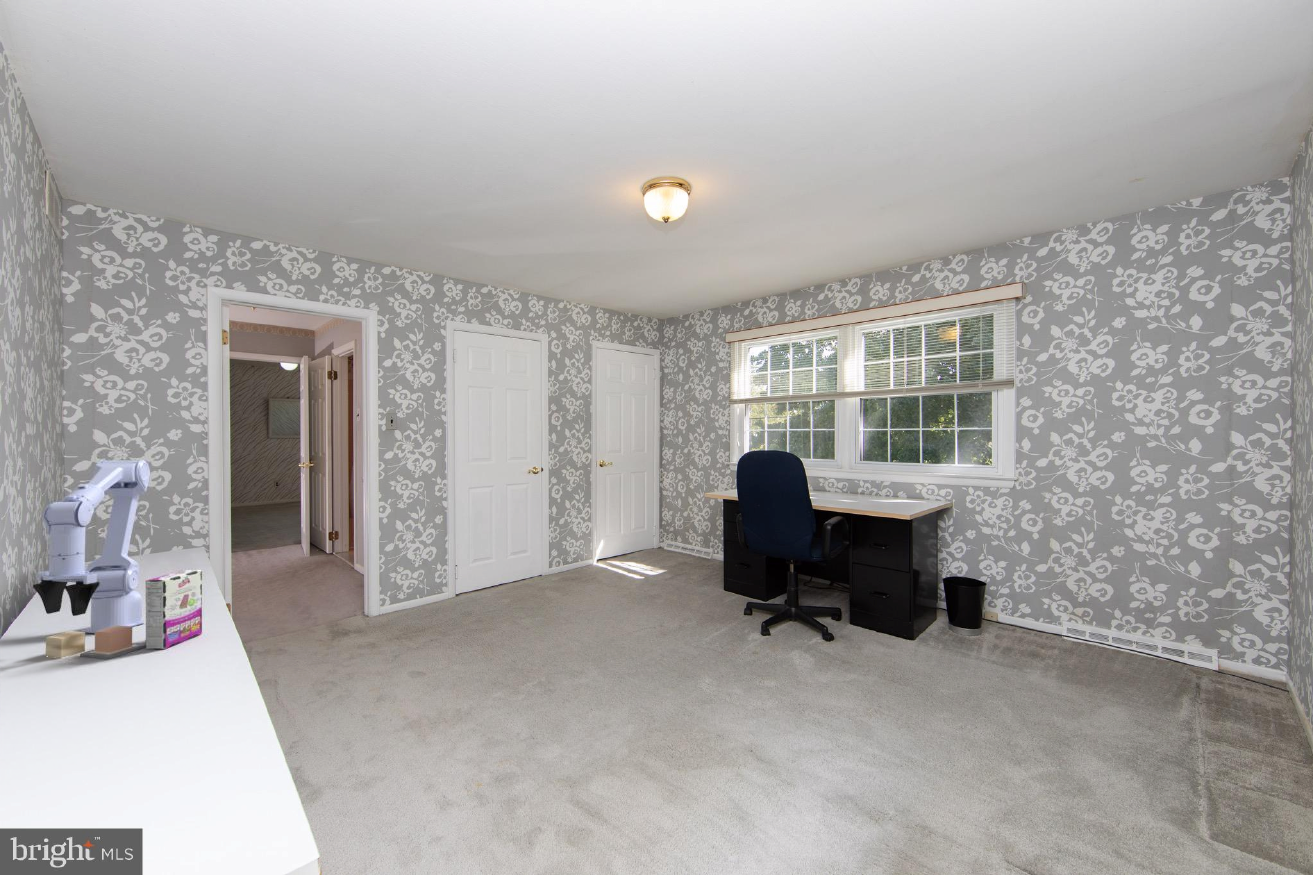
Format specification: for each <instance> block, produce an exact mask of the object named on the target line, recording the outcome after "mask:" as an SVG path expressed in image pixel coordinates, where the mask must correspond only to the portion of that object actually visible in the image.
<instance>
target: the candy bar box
mask: <svg viewBox="0 0 1313 875" xmlns="http://www.w3.org/2000/svg"><path fill="white" fill-rule="evenodd" d="M202 573H203V572H202V569H183V570H179V571H175V572H172V573H168V574H164V575H160V576H158V577H153V578H150V579H146V580H145V644H146V647H145V649H146V650H167V649H169V648H172V647H175V646H176V645H179V644H182V643H184V642H186V641H188V639H189V640H191V639H194V638H196V637H198V636H200V635H202V634H203V626H202V625H203V615H202V614H203V610H202V609H203V605H202V604H203V602H202V601H203V593H202V592H203V588H202V587H203V581H202V580H203V574H202ZM195 636H196V637H195ZM190 638H191V639H190Z"/></svg>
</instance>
